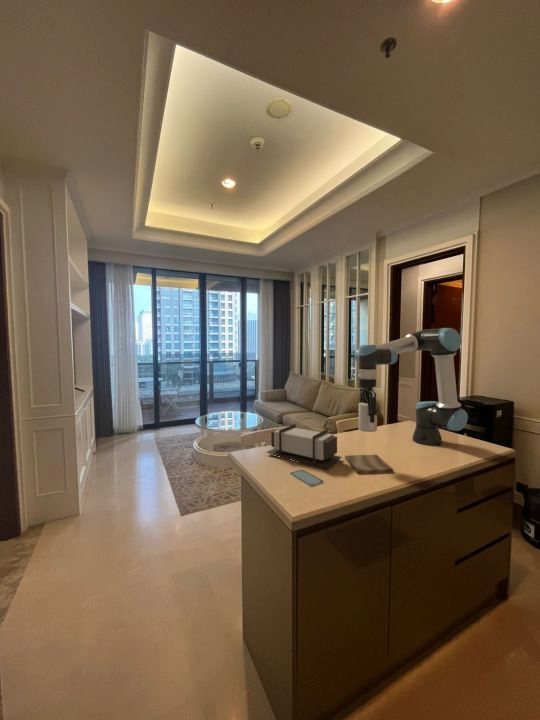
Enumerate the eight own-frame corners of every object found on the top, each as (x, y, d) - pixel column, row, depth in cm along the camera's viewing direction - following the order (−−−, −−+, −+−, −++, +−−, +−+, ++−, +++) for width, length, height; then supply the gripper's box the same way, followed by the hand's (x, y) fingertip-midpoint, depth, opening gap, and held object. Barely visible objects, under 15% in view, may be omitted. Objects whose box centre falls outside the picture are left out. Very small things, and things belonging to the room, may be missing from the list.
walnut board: (376, 457, 152) (376, 454, 152) (393, 472, 134) (393, 469, 134) (344, 458, 151) (344, 455, 151) (357, 473, 133) (357, 470, 133)
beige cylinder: (376, 432, 137) (376, 406, 136) (357, 431, 139) (357, 405, 139) (377, 427, 144) (377, 402, 144) (359, 426, 147) (359, 401, 146)
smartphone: (302, 469, 138) (324, 481, 125) (302, 471, 138) (324, 483, 125) (288, 473, 134) (310, 485, 121) (288, 474, 134) (310, 487, 121)
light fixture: (328, 439, 136) (266, 427, 157) (328, 471, 137) (266, 455, 157) (341, 431, 148) (282, 421, 169) (341, 460, 149) (283, 447, 170)
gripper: (352, 376, 151) (352, 421, 152) (368, 380, 130) (368, 433, 131) (367, 375, 151) (367, 421, 152) (385, 380, 130) (385, 432, 131)
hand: (367, 426), depth 142 cm, fingers closed on beige cylinder, 8 cm apart
